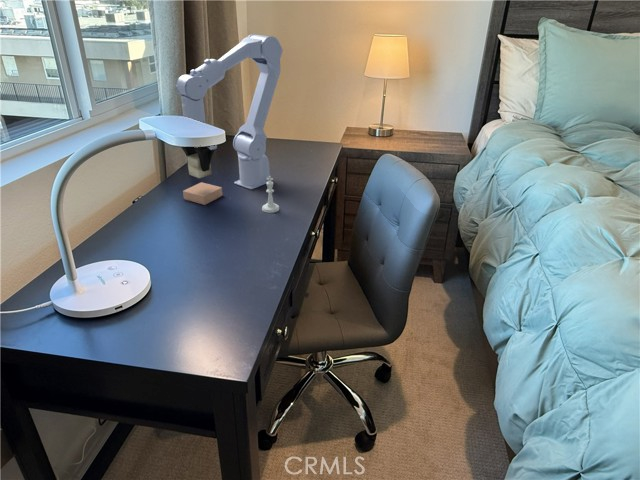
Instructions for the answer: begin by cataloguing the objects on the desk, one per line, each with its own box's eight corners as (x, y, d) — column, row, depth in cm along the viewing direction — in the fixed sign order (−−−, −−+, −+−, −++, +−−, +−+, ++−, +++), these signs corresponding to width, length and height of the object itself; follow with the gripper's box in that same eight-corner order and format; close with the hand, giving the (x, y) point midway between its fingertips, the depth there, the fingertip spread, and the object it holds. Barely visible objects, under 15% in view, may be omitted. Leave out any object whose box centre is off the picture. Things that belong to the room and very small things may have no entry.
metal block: (201, 170, 133) (199, 152, 130) (211, 173, 130) (209, 155, 128) (189, 174, 130) (186, 156, 127) (199, 178, 127) (196, 159, 124)
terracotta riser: (202, 191, 138) (201, 182, 137) (222, 196, 135) (221, 187, 134) (184, 200, 132) (182, 190, 131) (204, 206, 129) (203, 196, 128)
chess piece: (276, 213, 125) (275, 180, 120) (259, 211, 126) (258, 178, 121) (281, 206, 129) (280, 173, 124) (265, 204, 130) (263, 172, 125)
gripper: (166, 119, 124) (173, 166, 130) (200, 129, 116) (205, 178, 122) (187, 115, 128) (192, 160, 135) (220, 123, 121) (225, 171, 127)
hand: (200, 168), depth 129 cm, fingers closed on metal block, 4 cm apart
